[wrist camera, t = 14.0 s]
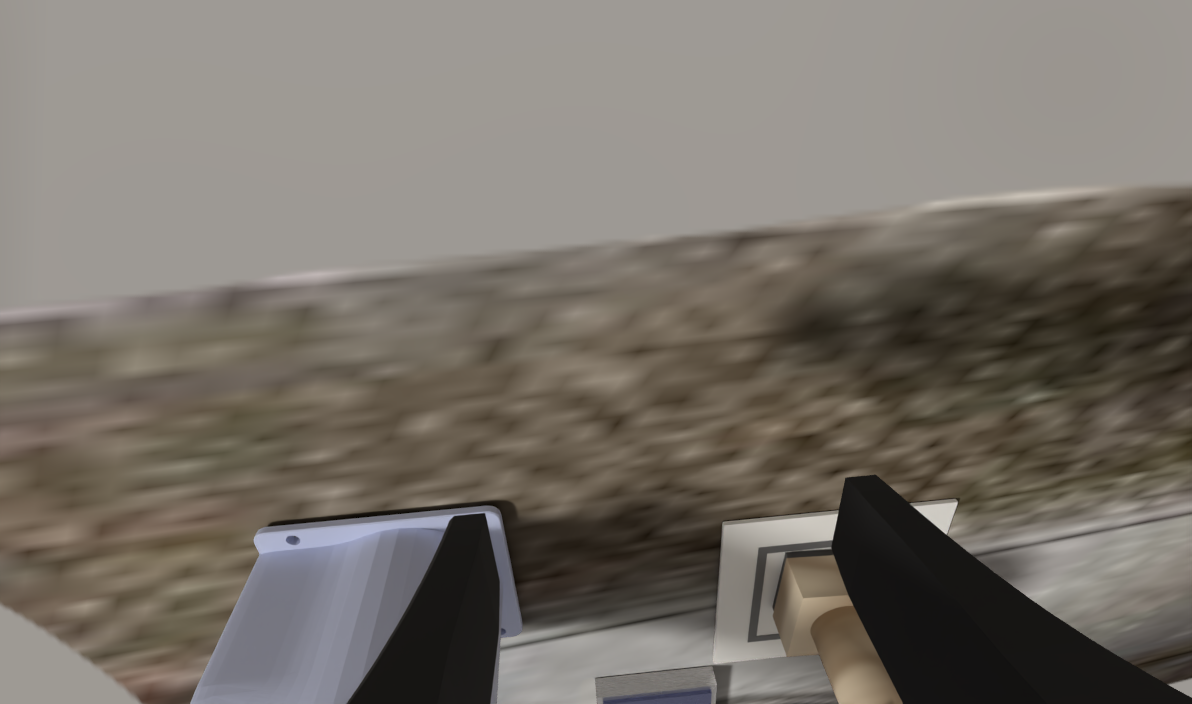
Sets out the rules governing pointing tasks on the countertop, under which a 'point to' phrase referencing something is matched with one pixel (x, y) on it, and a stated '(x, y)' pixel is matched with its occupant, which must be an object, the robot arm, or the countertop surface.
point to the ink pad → (659, 687)
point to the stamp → (829, 628)
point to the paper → (773, 574)
